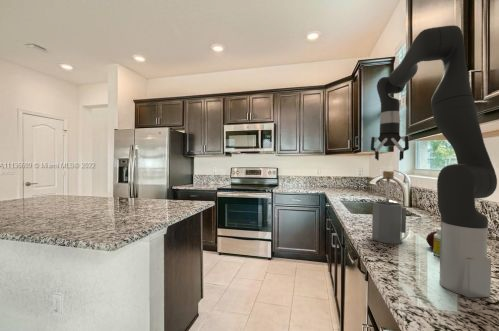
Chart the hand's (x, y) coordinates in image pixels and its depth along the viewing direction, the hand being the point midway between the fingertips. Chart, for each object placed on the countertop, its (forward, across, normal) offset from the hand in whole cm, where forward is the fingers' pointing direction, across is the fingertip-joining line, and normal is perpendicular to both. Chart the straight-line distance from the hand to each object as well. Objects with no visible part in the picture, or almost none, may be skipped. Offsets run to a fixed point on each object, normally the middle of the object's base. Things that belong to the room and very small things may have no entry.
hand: (388, 160), depth 104 cm
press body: (+35, -1, -1) cm, 35 cm away
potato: (+35, -18, +1) cm, 39 cm away
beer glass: (+35, -2, -16) cm, 39 cm away
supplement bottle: (+35, -18, +10) cm, 40 cm away
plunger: (+23, 0, 0) cm, 23 cm away
